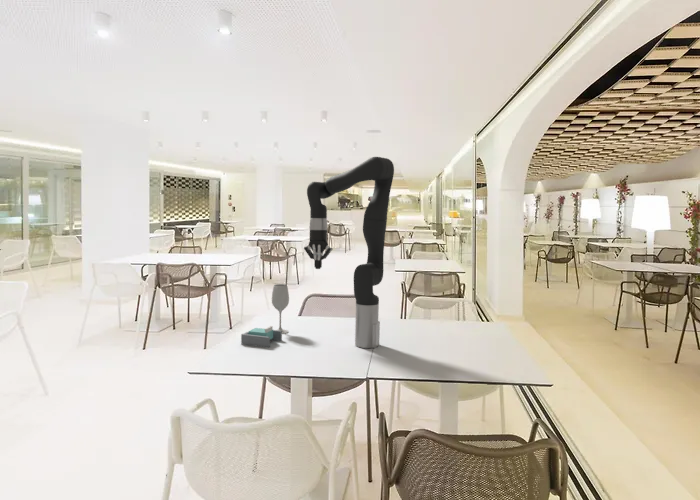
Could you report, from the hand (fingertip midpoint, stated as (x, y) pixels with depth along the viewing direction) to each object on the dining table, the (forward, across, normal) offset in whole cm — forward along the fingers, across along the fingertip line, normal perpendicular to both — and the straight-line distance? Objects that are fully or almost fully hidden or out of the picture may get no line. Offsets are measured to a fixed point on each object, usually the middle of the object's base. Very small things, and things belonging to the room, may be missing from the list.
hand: (317, 268), depth 209 cm
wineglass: (+29, +17, +2) cm, 34 cm away
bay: (+29, +16, +20) cm, 38 cm away
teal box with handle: (+29, +17, +20) cm, 39 cm away
